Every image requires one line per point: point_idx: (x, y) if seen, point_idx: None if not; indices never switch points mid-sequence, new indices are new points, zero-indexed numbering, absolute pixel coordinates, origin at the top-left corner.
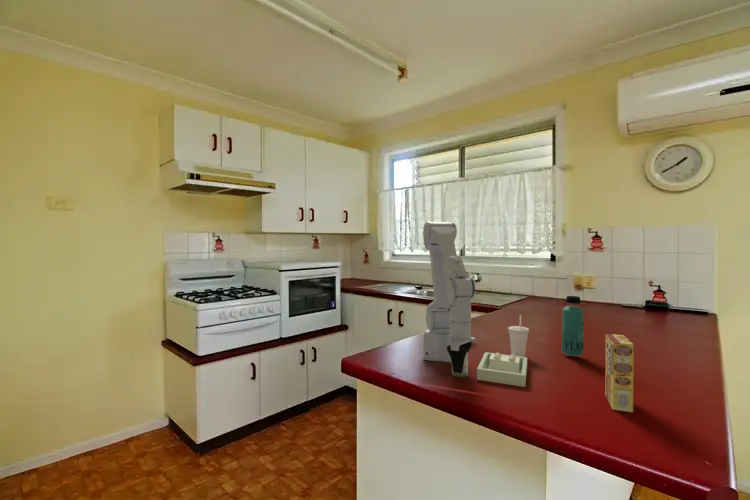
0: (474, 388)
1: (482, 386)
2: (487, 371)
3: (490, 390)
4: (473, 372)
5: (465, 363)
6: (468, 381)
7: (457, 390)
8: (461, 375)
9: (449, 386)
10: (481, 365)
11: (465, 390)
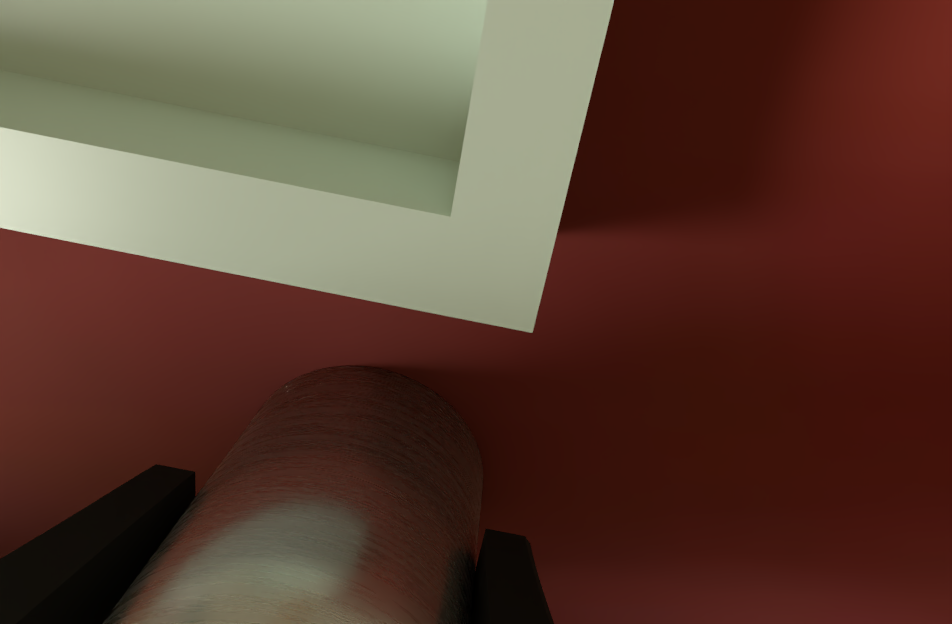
0: (839, 290)
1: (737, 151)
2: (595, 44)
3: (935, 5)
4: (101, 269)
5: (404, 609)
6: (542, 364)
7: (921, 515)
8: (475, 493)
9: (777, 594)
10: (227, 203)
11: (924, 420)
